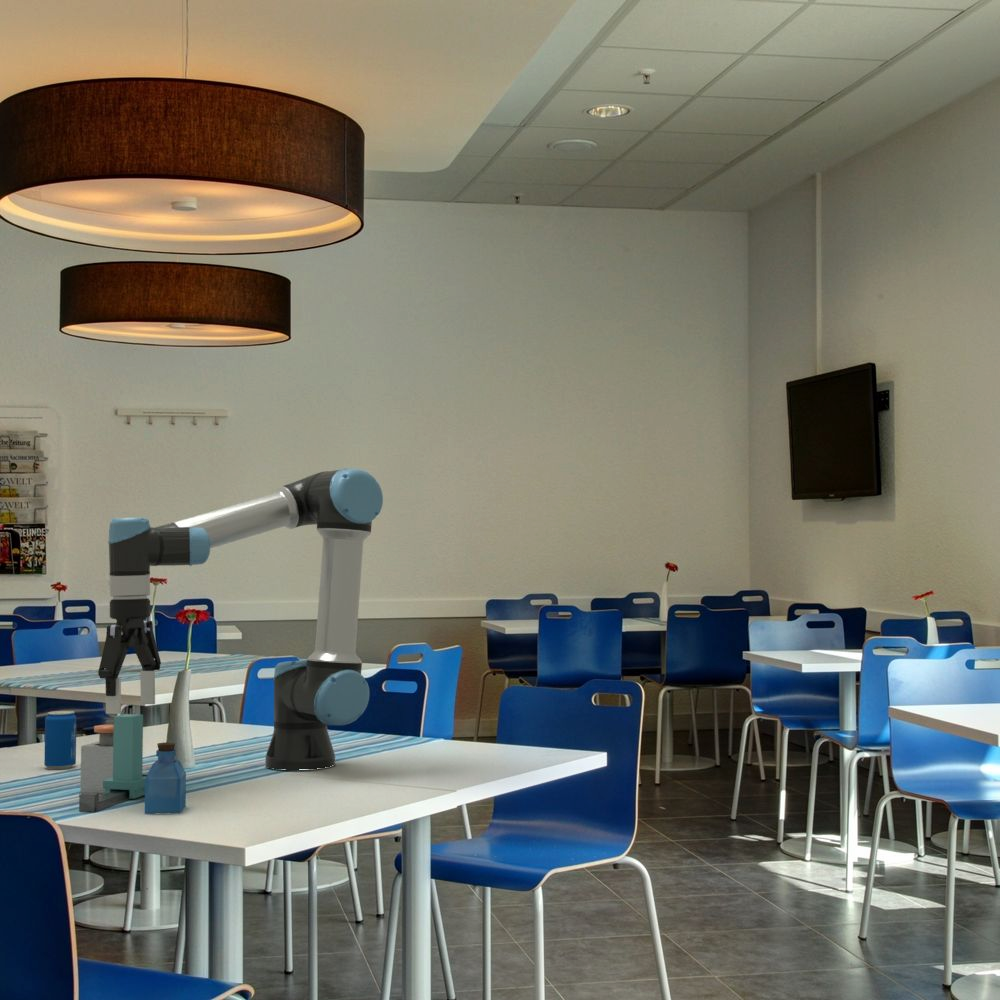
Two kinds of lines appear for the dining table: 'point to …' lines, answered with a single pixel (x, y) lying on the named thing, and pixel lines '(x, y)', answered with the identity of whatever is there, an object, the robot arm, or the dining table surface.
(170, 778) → the perfume bottle
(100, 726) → the orange push button
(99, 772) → the button housing
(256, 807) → the dining table surface
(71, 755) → the beverage can
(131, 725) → the carriage
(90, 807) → the rail
